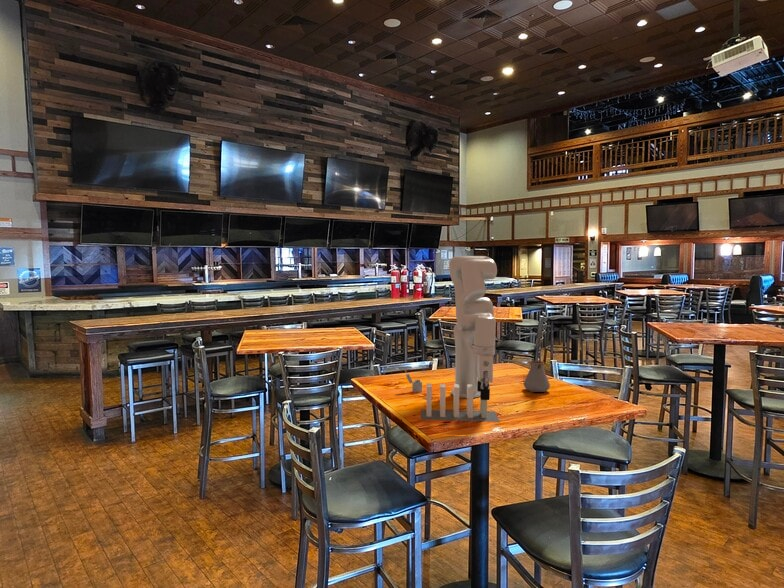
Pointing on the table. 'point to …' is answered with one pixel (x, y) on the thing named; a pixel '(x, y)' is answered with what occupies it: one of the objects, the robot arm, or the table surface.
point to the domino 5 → (483, 408)
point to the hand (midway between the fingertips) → (483, 395)
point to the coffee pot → (536, 378)
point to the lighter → (415, 384)
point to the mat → (462, 416)
